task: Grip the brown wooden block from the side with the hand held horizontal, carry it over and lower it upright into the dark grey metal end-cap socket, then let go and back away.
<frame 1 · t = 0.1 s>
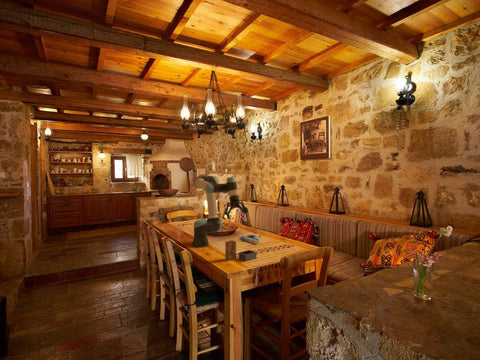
hand: (238, 222, 207), 28 cm above the table, tool tilted 20°, fingers open, 13 cm apart
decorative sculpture: (252, 240, 260), on the table
endcap: (247, 258, 204), on the table
brown wooden block: (230, 259, 203), on the table
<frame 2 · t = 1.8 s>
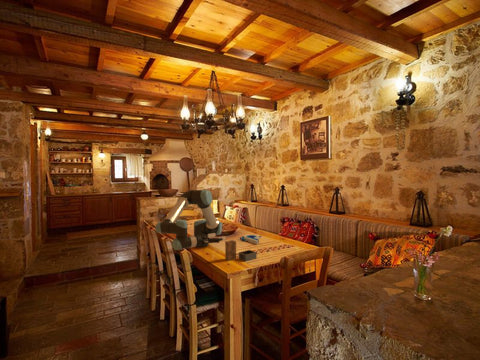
hand: (220, 236, 197), 19 cm above the table, tool horizontal, fingers open, 13 cm apart
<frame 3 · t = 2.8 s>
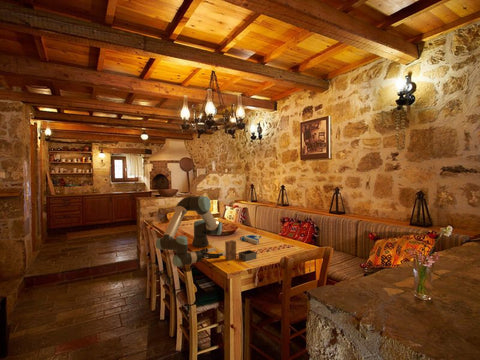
hand: (220, 251, 197), 8 cm above the table, tool horizontal, fingers open, 13 cm apart
nothing on the table moved.
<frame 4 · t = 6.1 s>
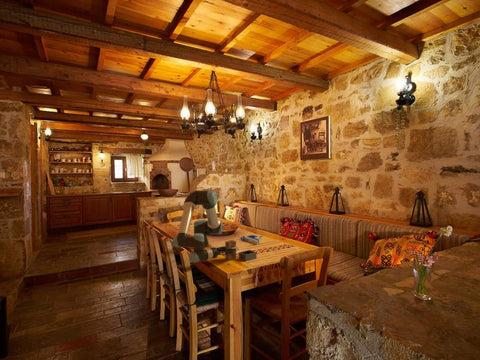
hand: (236, 247, 206), 8 cm above the table, tool horizontal, fingers closed on brown wooden block, 4 cm apart
brown wooden block: (230, 259, 203), on the table, touching gripper
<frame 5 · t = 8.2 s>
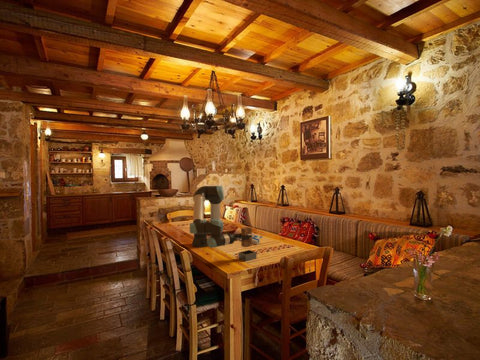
hand: (251, 234, 207), 18 cm above the table, tool horizontal, fingers closed on brown wooden block, 4 cm apart
brown wooden block: (246, 245, 204), point 10 cm above the table, touching gripper
when the fingers open (10 cm above the table, at t = 10.3 s): brown wooden block drops 1 cm, resting on endcap.
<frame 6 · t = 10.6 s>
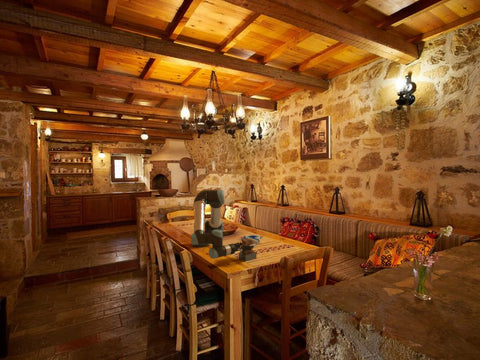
hand: (252, 244, 207), 10 cm above the table, tool horizontal, fingers open, 8 cm apart
brown wooden block: (247, 257, 204), point 1 cm above the table, touching endcap
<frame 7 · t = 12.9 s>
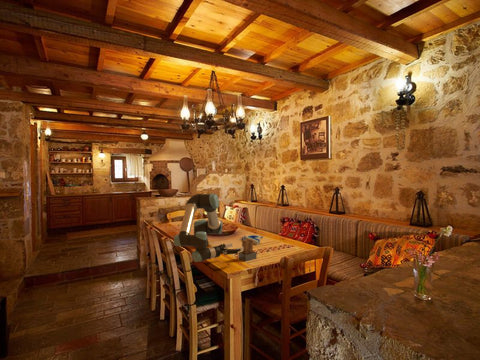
hand: (237, 246, 198), 11 cm above the table, tool horizontal, fingers open, 13 cm apart
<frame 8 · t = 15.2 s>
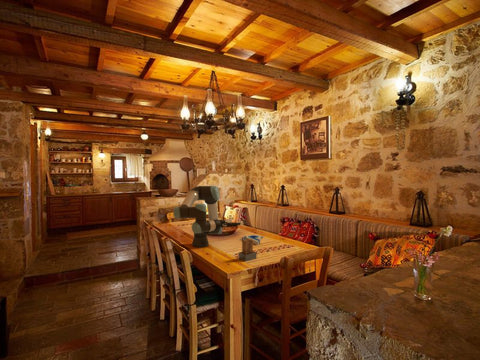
hand: (237, 221, 198), 30 cm above the table, tool horizontal, fingers open, 13 cm apart
at the end: brown wooden block 0.0 cm off-centre on the endcap, point 0.8 cm above the endcap's base; brown wooden block tilted 0°; the gripper is holding nothing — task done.
